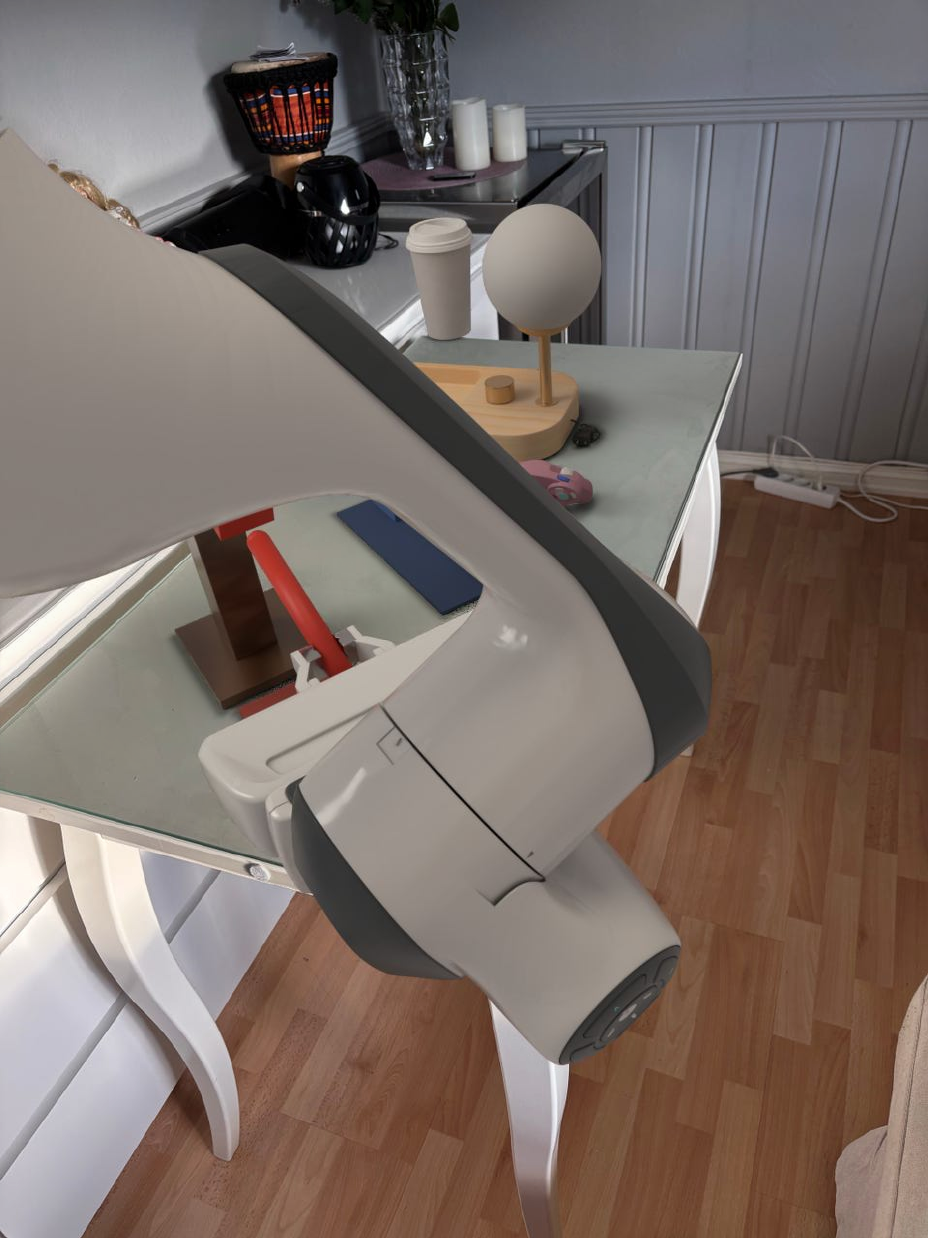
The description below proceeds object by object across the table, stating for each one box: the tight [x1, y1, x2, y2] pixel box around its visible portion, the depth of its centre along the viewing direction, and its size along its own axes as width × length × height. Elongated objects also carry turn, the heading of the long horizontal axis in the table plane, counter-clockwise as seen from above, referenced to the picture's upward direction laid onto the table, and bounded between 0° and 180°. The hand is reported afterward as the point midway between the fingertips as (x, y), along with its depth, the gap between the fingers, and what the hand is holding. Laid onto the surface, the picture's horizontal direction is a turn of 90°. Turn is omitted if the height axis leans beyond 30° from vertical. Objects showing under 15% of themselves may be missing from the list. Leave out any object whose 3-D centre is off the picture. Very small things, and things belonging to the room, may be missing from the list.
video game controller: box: [518, 459, 594, 509], centre depth 94 cm, size 10×5×7 cm, turn 68°
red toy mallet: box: [214, 507, 354, 678], centre depth 60 cm, size 20×4×2 cm, turn 33°
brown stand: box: [174, 528, 309, 710], centre depth 74 cm, size 10×12×26 cm
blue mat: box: [336, 499, 483, 616], centre depth 92 cm, size 12×22×1 cm, turn 33°
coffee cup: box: [405, 217, 474, 341], centre depth 130 cm, size 10×10×15 cm
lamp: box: [411, 203, 602, 462], centre depth 104 cm, size 33×17×25 cm, turn 71°
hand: (322, 647), depth 58 cm, fingers closed on red toy mallet, 1 cm apart
